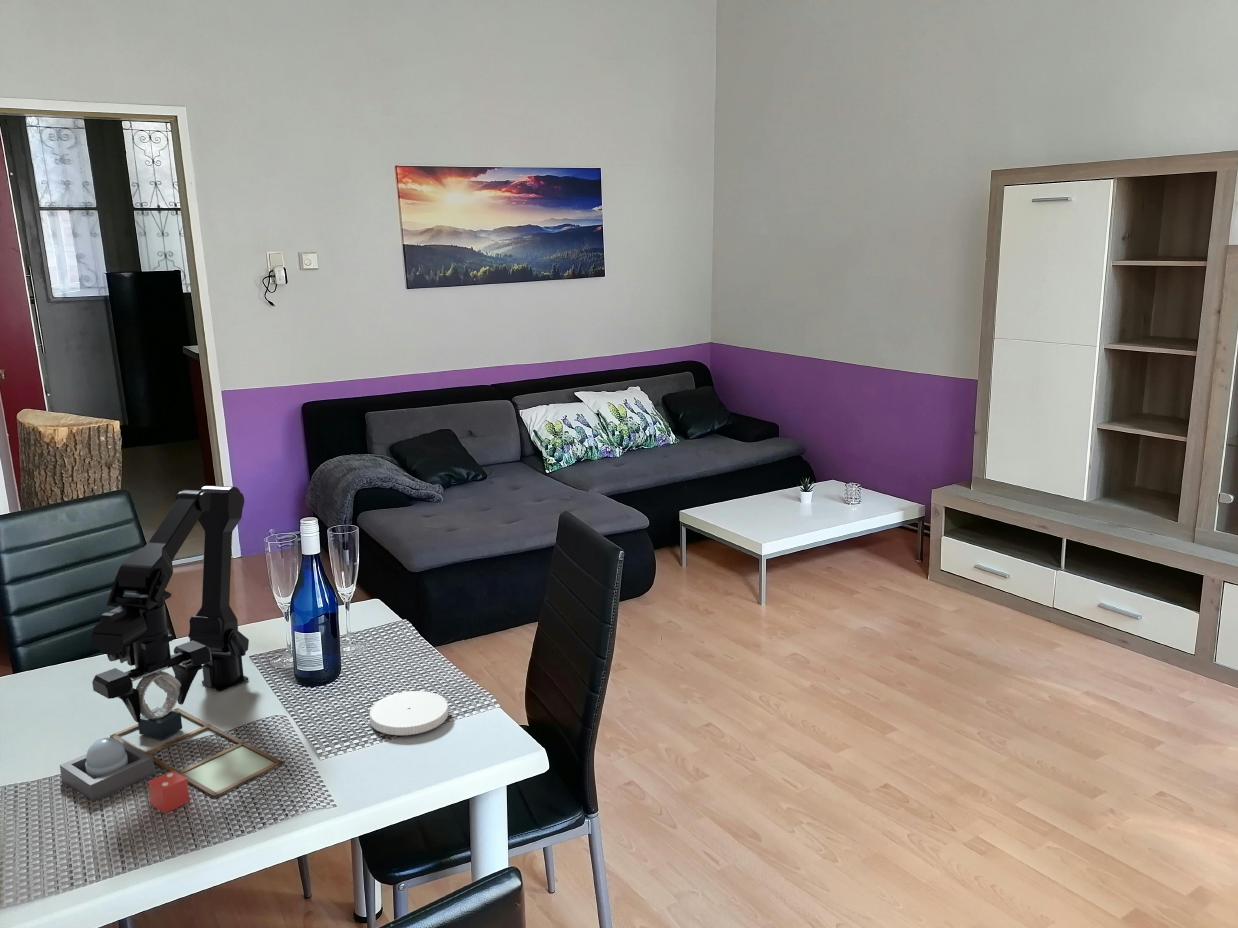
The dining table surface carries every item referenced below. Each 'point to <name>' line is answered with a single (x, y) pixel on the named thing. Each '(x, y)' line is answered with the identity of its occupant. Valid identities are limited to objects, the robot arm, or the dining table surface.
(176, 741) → the brown flat frame
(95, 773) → the dome button
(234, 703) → the dining table surface
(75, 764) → the dome frame
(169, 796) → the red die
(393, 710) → the plastic lid
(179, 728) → the watch
